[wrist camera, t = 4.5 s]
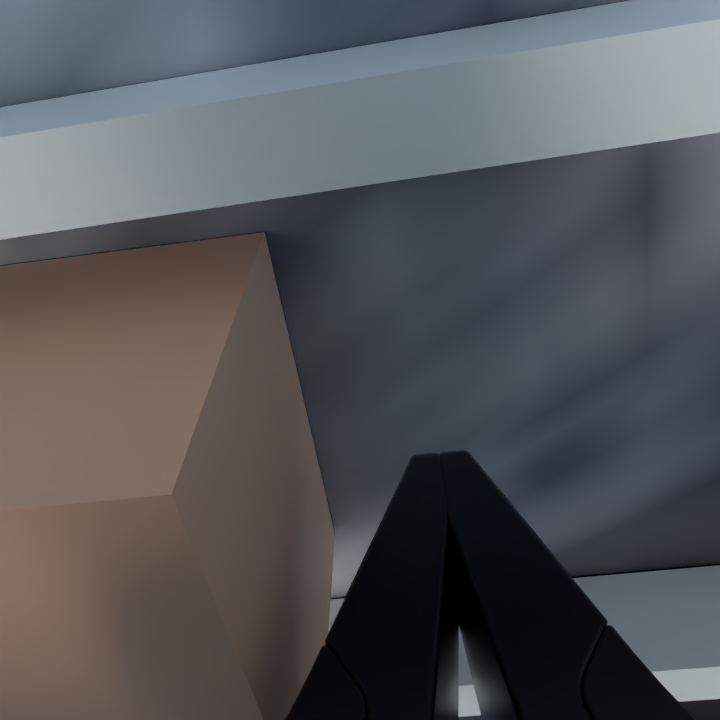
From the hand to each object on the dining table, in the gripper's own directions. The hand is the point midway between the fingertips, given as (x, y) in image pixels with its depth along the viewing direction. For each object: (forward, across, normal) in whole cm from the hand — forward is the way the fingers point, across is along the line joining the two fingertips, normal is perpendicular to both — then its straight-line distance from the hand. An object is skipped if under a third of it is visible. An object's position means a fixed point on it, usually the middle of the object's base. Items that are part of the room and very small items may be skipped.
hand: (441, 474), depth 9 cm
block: (+2, +5, 0) cm, 5 cm away
